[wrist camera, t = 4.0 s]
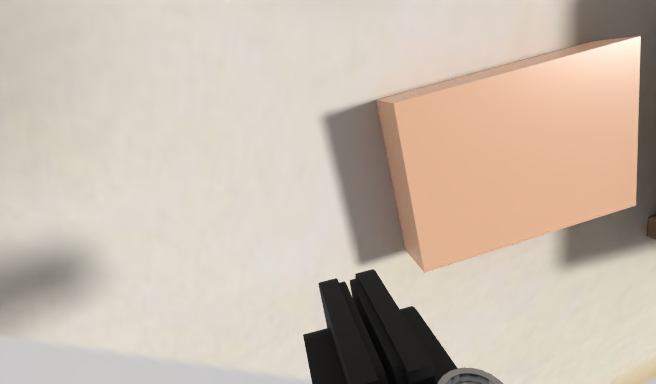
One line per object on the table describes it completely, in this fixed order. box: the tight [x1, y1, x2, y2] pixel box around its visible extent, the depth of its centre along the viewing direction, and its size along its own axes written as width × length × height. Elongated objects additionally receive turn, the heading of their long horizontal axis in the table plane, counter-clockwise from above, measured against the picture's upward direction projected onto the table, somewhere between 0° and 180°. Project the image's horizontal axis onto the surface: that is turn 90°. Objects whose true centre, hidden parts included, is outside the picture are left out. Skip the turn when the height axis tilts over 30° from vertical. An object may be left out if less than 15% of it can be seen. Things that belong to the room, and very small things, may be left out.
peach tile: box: [376, 36, 641, 272], centre depth 23 cm, size 10×14×4 cm
